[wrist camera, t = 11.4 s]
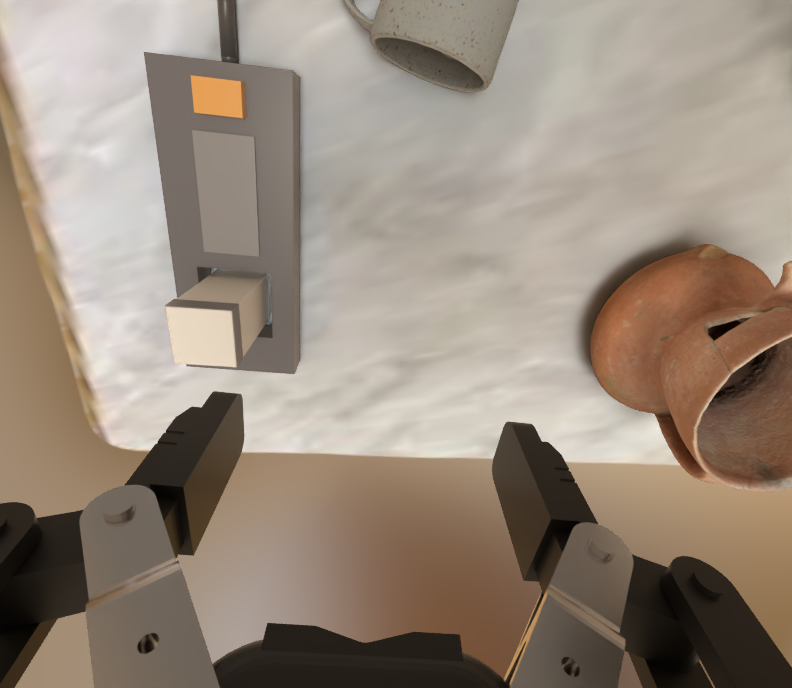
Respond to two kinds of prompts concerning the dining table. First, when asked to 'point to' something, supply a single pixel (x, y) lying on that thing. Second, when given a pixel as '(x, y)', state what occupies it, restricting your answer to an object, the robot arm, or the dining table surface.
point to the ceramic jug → (706, 363)
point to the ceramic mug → (441, 38)
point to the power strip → (233, 179)
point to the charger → (219, 318)
